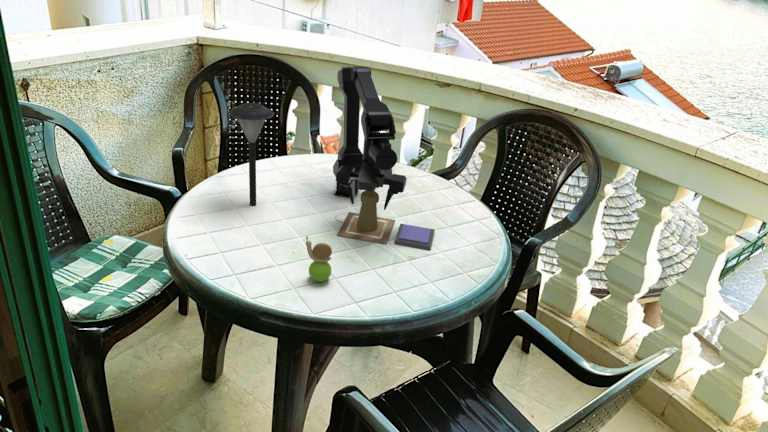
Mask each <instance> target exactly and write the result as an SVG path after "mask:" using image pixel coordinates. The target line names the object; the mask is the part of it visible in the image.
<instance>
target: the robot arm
mask: <svg viewBox="0 0 768 432" xmlns="http://www.w3.org/2000/svg"><path fill="white" fill-rule="evenodd" d="M337 83H338V87H339V90H340V91H341V93H342V95H343V97H344V99H343V101H344V103H343V139H342V140H343V143H342V147H340V149H339V150H338V152H337V159H336V160H335V162H334V163H333V166H332V174H333V175H334V177H335V183H336V186H335V192H334V196H337V197H338V196H339V197H345V198H349V200H350V203H351V205H354V204H355V198H356V196H357V195H358V194H359V191H366V190H367V191H370V192H373V191H375V192H376V189H379V188H383V187H384V185H383V184H387V185H386V186H388V190H387V192H386V197H385V201H384V204H383V210H384V211H386V209H387V207H388V205H389V204H390V202H391V199H392V197H394V196H395V195H398V194H399V193H404V191H405V188H406V185H407V177H406V175H402V174H397V173H392V177H391V178H388V177H385V176H384V174H382V173H383V170H389V169H391V168H392V169H393V168H394V167H395V165H397V162H398V155H397V153H396V151H395V150H394V149H393V148H392V144H391V142H390V141H392V140H393V141H394V140H395V139H396V136H395V135H396V134H397V132H396V131H397V130H396V127H395V120H394V117H393V114H392V112H391V111H390V109H389V107H388V105H387V104H386V103H385V102H382V101H381V100H380V97H379V94H378V91H377V88H376V87H375V84H374V81H373V78H372V69H371V67H368V66H363V65H362V66H355V65H354V66H342V67H341V69H339V70H338V71H337ZM360 104H361V105H360ZM361 106H362V113H361V115H360V111H361V110H360V108H361ZM360 123H361V127H362V133H363V137H364V138H363V139H364V141H363V148H362V149H363V151H362V150H361V149H360V146H359V141H360V140H359V138H360V137H359V135H360Z"/></svg>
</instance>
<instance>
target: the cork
mask: <svg viewBox="0 0 768 432" xmlns="http://www.w3.org/2000/svg"><path fill="white" fill-rule="evenodd" d="M359 198H360V202H361V205H360V210H359V213H358V214H359V217H358V221H357V228H358V229H359V230H361V231H364V232H373V231H375V230H377V228H378V227H377V217H378V209H377V204H378V203H379V201H380V195H379V193H378V192H377V191H376V190H375V191H373V192H370V191H367V190H362V192H361V194H360V197H359Z"/></svg>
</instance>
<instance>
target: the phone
mask: <svg viewBox="0 0 768 432" xmlns="http://www.w3.org/2000/svg"><path fill="white" fill-rule="evenodd" d="M382 174H384V176H385V177H388V178H391V177H392V175H393V167H392V168H391V169H389V170H383V173H382ZM384 185H386V186H388V185H387V184H383V186H384Z"/></svg>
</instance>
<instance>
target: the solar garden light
mask: <svg viewBox="0 0 768 432" xmlns="http://www.w3.org/2000/svg"><path fill="white" fill-rule="evenodd" d="M228 115H230V117H233V118H235V119H237V121H238V123H239V125H240V127H241V130H242V131H243V133H244V135H245V137H246V139H247V142H248V170H249V171H248V173H249V174H248V175H249V178H248V179H249V206H251V207H256V205H257V171H256V170H257V167H256V166H257V165H256V163H257V162H256V161H257V156H256V155H257V154H256V151H257V150H256V149H257V148H256V147H257V145H256V142H257V139H258V138H259V135H260V133H261V130H262V128H263V127H264V124H265V121H266V120H268V119H271V118H272V117H274V116H275V112H274V111H273V110H272V109H270V108H268V107H266V106H264V105H262V104H260V103H255V102H254V103H253V102H247V103H241V104H240V105H237V106H235V107H233V108H231V109H230V110H229V111H228Z"/></svg>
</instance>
